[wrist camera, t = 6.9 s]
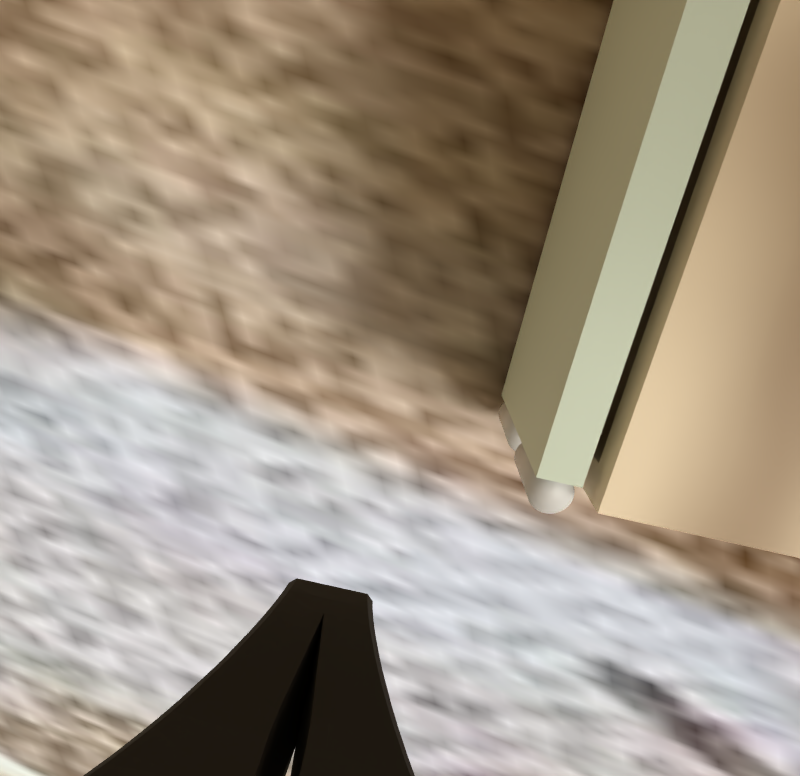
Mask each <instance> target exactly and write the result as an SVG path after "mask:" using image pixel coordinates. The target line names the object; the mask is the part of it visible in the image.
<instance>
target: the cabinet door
mask: <svg viewBox="0 0 800 776" xmlns="http://www.w3.org/2000/svg"><path fill="white" fill-rule="evenodd" d="M749 3H750V0H614V1H613V4H612V8H611V11H610V15H609V18H608V22H607V25H606V29H605V32H604V36H603V39H602V43H601V46H600V50H599V53H598V57H597V61H596V64H595V68H594V71H593V75H592V78H591V82H590V85H589V89H588V92H587V96H586V99H585V103H584V106H583V110H582V113H581V117H580V120H579V124H578V127H577V131H576V134H575V138H574V141H573V145H572V149H571V152H570V156H569V159H568V163H567V166H566V170H565V173H564V177H563V180H562V184H561V187H560V191H559V194H558V198H557V201H556V205H555V208H554V212H553V215H552V219H551V222H550V226H549V229H548V233H547V236H546V240H545V244H544V247H543V251H542V254H541V258H540V261H539V265H538V268H537V272H536V275H535V279H534V282H533V286H532V289H531V293H530V296H529V300H528V303H527V307H526V310H525V314H524V317H523V321H522V324H521V328H520V332H519V335H518V339H517V342H516V346H515V349H514V353H513V356H512V360H511V363H510V367H509V370H508V374H507V377H506V381H505V384H504V388H503V391H502V397H503V400H504V403H503V404H502V405H501V407H500V409H499V418H500V421H501V424H502V427H503V430H504V432H505V435H506V438H507V441H508V443H509V445H510V447H511V448H512V449H513V450H515V456H514V458H515V463H516V466H517V469H518V471H519V474H520V477H521V480H522V483H523V485H524V488H525V491H526V494H527V496H528V499H529V502H530V504H531V505H532V506H533V507H534V508H535V509H536V510H538V511H540V512H542V513H547V514H552V513H557V512H560V511H562V510H564V509H565V508H567V507H568V506H569V505H570V503H571V502H572V500H573V497H574V486H577V487H581V488H583V485H584V482H585V479H586V476H587V473H588V470H589V467H590V465H591V462H592V459H593V456H594V453H595V450H596V447H597V444H598V441H599V438H600V436H601V433H602V430H603V427H604V424H605V421H606V418H607V415H608V412H609V409H610V406H611V404H612V401H613V398H614V395H615V392H616V389H617V386H618V383H619V380H620V377H621V375H622V372H623V369H624V366H625V363H626V360H627V357H628V354H629V351H630V348H631V346H632V343H633V340H634V337H635V334H636V331H637V328H638V325H639V322H640V319H641V316H642V314H643V311H644V308H645V305H646V302H647V299H648V296H649V293H650V290H651V287H652V285H653V282H654V279H655V276H656V273H657V270H658V267H659V264H660V261H661V258H662V255H663V253H664V250H665V247H666V244H667V241H668V238H669V235H670V232H671V229H672V226H673V224H674V221H675V218H676V215H677V212H678V209H679V206H680V203H681V200H682V197H683V194H684V192H685V189H686V186H687V183H688V180H689V177H690V174H691V171H692V168H693V165H694V163H695V160H696V157H697V154H698V151H699V148H700V145H701V142H702V139H703V136H704V133H705V131H706V128H707V125H708V122H709V119H710V116H711V113H712V110H713V107H714V104H715V102H716V99H717V96H718V93H719V90H720V87H721V84H722V81H723V78H724V75H725V72H726V70H727V67H728V64H729V61H730V58H731V55H732V52H733V49H734V46H735V43H736V41H737V38H738V35H739V32H740V29H741V26H742V23H743V20H744V17H745V14H746V11H747V9H748V6H749Z"/></svg>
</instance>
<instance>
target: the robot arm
mask: <svg viewBox="0 0 800 776" xmlns="http://www.w3.org/2000/svg"><path fill="white" fill-rule="evenodd" d="M372 602H373V601H372V600H371V598H370V597H369V595H368V594H365V593H360V592H356V591H351V590H347V589H342V588H338V587H333V586H329V585H324V584H320V583H315V582H311V581H306V580H302V579H295V580H293V581H291V582H290V583H289V584H288V585H287V587H286V588H285V590H284V591H283V592H282V594H281V595H280V596H279V598H278V599H277V600H276V602H275V603H274V604H273V605H272V607H271V608H270V609H269V610H268V611H267V612H266V614H265V615H264V616H263V617H262V618H261V619H260V620H259V622H258V623H257V624H256V625H255V626H254V627H253V628H252V630H251V631H250V632H249V633H248V634H247V635H246V636H245V637H244V638H243V639H242V640H241V641H240V642H239V643H238V644H237V645H236V646H235V647H234V648H233V649H232V650H231V651H230V652H229V654H228V655H227V656H226V657H225V658H224V659H223V660H222V661H221V662H220V663H219V664H218V665H217V666H216V667H214V668H213V669H212V670H211V671H210V672H209V673H208V674H207V675H206V676H205V677H204V678H203V679H201V680H200V681H199V682H198V683H197V684H196V685H195V686H194V687H193V688H192V689H191V690H190V691H188V692H187V693H186V694H185V695H184V696H183V697H182V698H181V699H180V700H179V701H178V702H176V703H175V704H174V705H173V706H172V707H171V708H169V709H168V710H167V711H166V712H165V713H164V714H162V715H161V716H160V717H159V718H158V719H157V720H155V721H154V722H153V723H152V724H150V725H149V726H148V727H147V728H146V729H144V730H143V731H142V732H141V733H139V734H138V735H137V736H136V737H134V738H133V739H132V740H130V741H129V742H128V743H127V744H125V745H124V746H123V747H122V748H120V749H119V750H118V751H116V752H115V753H114V754H113V755H111V756H110V757H109V758H107V759H106V760H104V761H103V762H102V763H100V764H99V765H98V766H96V767H95V768H93V769H92V770H91V771H89V772H88V773H87V774H85V775H84V776H285V775H286V772H287V769H288V767H289V764H290V761H291V758H292V755H293V752H294V749H295V753H294V759H293V765H292V771H291V776H415V775H414V773H413V770H412V767H411V764H410V762H409V759H408V756H407V753H406V750H405V747H404V744H403V741H402V738H401V735H400V732H399V729H398V726H397V722H396V719H395V716H394V712H393V709H392V706H391V702H390V698H389V694H388V690H387V686H386V683H385V679H384V675H383V671H382V667H381V662H380V658H379V653H378V647H377V642H376V636H375V630H374V622H373V610H372Z"/></svg>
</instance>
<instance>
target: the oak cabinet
mask: <svg viewBox="0 0 800 776" xmlns="http://www.w3.org/2000/svg"><path fill="white" fill-rule="evenodd" d="M583 489H584V490H585V492H586V494H587V495H588V497H589V499H590V501H591V502H592V504H593V506H594V508H595V509H596V511H597V513H599V514H604V515H608V516H613V517H617V518H622V519H626V520H631V521H635V522H640V523H644V524H649V525H653V526H658V527H662V528H667V529H671V530H676V531H680V532H685V533H689V534H694V535H698V536H703V537H707V538H712V539H716V540H721V541H725V542H730V543H734V544H739V545H743V546H748V547H752V548H757V549H761V550H766V551H770V552H775V553H779V554H784V555H788V556H793V557H797V558H800V0H750V3H749V6H748V9H747V11H746V14H745V17H744V20H743V23H742V26H741V29H740V32H739V35H738V38H737V41H736V43H735V46H734V49H733V52H732V55H731V58H730V61H729V64H728V67H727V70H726V72H725V75H724V78H723V81H722V84H721V87H720V90H719V93H718V96H717V99H716V102H715V104H714V107H713V110H712V113H711V116H710V119H709V122H708V125H707V128H706V131H705V133H704V136H703V139H702V142H701V145H700V148H699V151H698V154H697V157H696V160H695V163H694V165H693V168H692V171H691V174H690V177H689V180H688V183H687V186H686V189H685V192H684V194H683V197H682V200H681V203H680V206H679V209H678V212H677V215H676V218H675V221H674V224H673V226H672V229H671V232H670V235H669V238H668V241H667V244H666V247H665V250H664V253H663V255H662V258H661V261H660V264H659V267H658V270H657V273H656V276H655V279H654V282H653V285H652V287H651V290H650V293H649V296H648V299H647V302H646V305H645V308H644V311H643V314H642V316H641V319H640V322H639V325H638V328H637V331H636V334H635V337H634V340H633V343H632V346H631V348H630V351H629V354H628V357H627V360H626V363H625V366H624V369H623V372H622V375H621V377H620V380H619V383H618V386H617V389H616V392H615V395H614V398H613V401H612V404H611V406H610V409H609V412H608V415H607V418H606V421H605V424H604V427H603V430H602V433H601V436H600V438H599V441H598V444H597V447H596V450H595V453H594V456H593V459H592V462H591V465H590V467H589V470H588V473H587V476H586V479H585V482H584V485H583Z"/></svg>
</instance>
